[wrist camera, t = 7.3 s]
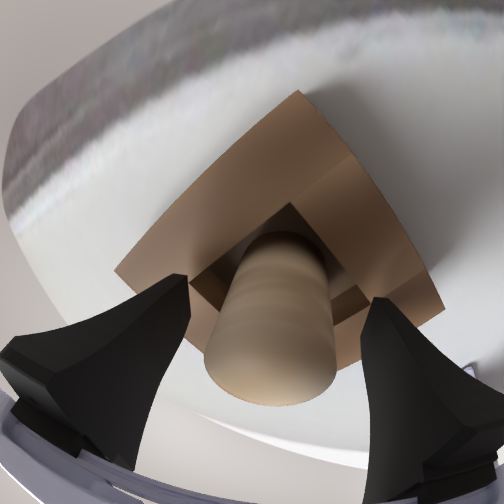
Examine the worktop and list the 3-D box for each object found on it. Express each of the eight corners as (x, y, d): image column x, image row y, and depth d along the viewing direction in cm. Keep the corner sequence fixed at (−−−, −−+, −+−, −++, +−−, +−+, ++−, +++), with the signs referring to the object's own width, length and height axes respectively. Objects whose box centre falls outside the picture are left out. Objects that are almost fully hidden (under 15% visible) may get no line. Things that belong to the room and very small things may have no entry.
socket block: (425, 275, 13) (445, 308, 11) (271, 364, 18) (265, 400, 15) (298, 96, 11) (298, 89, 8) (142, 243, 15) (113, 270, 12)
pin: (342, 277, 13) (360, 378, 8) (277, 317, 15) (262, 416, 9) (289, 213, 12) (279, 295, 7) (223, 264, 14) (178, 355, 8)
